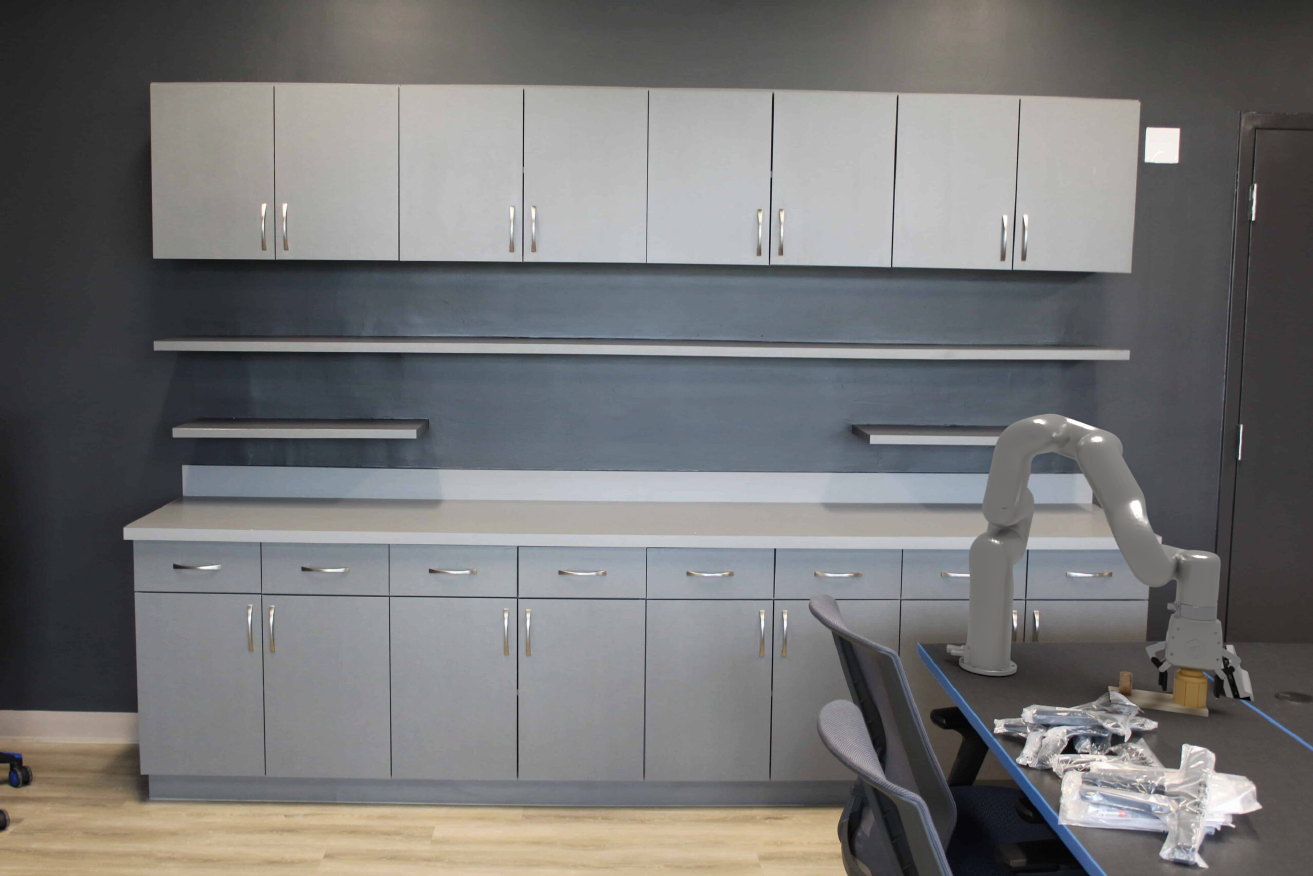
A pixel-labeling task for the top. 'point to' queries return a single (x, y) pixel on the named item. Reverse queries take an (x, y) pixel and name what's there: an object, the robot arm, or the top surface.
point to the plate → (1160, 702)
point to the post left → (1125, 683)
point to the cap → (1190, 687)
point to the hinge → (1236, 679)
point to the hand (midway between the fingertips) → (1189, 692)
